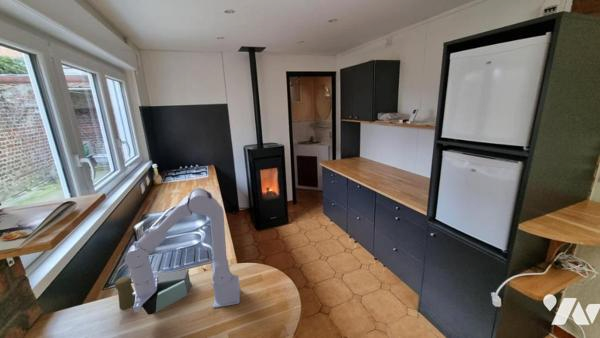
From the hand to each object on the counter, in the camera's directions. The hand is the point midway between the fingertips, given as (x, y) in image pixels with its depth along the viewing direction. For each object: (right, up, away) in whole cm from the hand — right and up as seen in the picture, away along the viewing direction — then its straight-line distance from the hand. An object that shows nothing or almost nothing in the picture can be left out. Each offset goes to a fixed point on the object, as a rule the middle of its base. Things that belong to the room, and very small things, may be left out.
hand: (152, 312), depth 85 cm
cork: (-15, -3, +10) cm, 18 cm away
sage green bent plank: (+2, -1, +9) cm, 9 cm away
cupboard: (-1, 0, +15) cm, 15 cm away
